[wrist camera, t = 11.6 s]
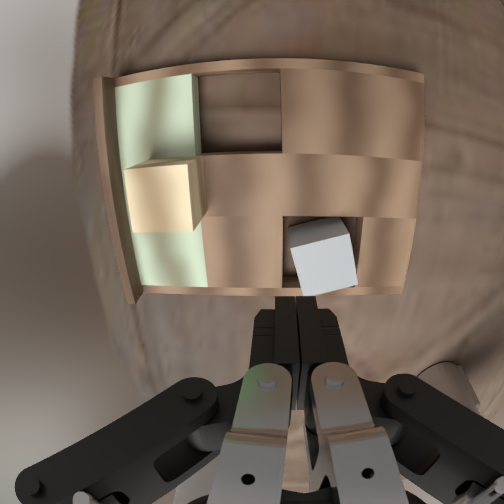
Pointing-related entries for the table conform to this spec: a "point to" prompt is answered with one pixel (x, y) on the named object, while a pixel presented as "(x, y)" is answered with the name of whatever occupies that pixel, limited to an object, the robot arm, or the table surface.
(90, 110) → the table surface
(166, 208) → the maple cube
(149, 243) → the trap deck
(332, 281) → the trapped grey cube
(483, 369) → the table surface
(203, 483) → the cylinder vase
